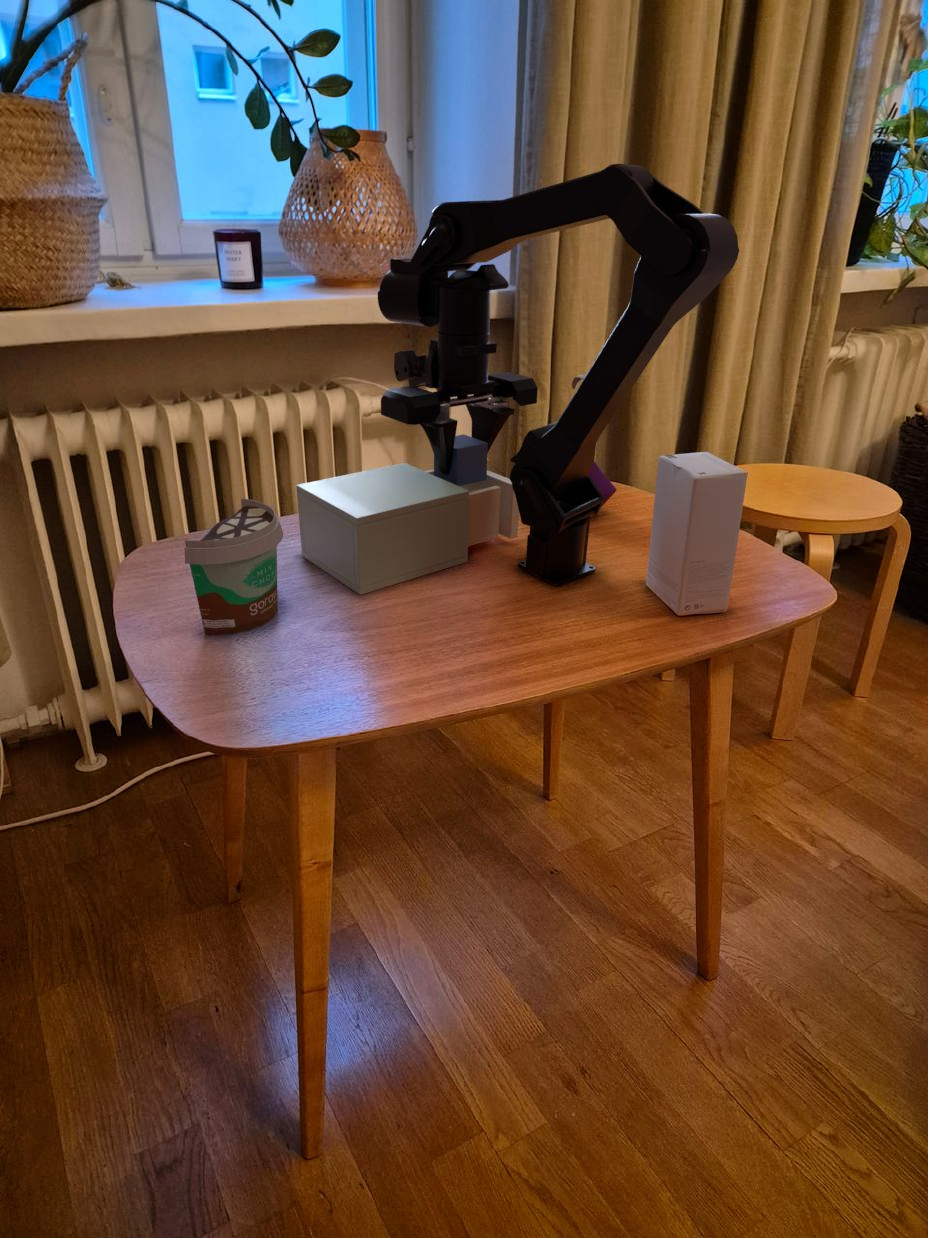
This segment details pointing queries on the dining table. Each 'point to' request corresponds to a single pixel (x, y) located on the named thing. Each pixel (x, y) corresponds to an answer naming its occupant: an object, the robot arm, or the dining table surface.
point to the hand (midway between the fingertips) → (460, 470)
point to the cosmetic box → (695, 531)
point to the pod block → (466, 462)
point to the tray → (491, 509)
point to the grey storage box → (383, 525)
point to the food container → (237, 570)
